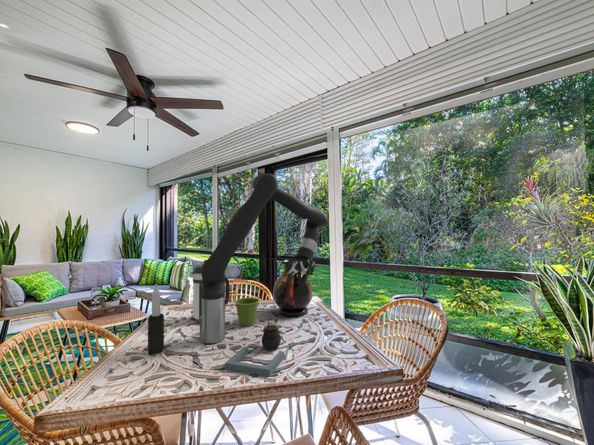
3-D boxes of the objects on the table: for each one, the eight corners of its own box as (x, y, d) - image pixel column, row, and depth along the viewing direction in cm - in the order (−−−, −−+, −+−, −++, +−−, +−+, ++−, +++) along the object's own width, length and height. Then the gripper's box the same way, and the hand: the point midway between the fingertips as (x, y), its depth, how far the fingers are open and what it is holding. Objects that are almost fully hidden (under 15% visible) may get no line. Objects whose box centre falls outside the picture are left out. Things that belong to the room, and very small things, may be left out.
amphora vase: (267, 310, 157) (267, 259, 158) (302, 305, 166) (301, 257, 167) (281, 321, 137) (281, 264, 138) (320, 315, 146) (319, 261, 147)
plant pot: (229, 327, 129) (229, 303, 129) (241, 319, 140) (240, 297, 141) (253, 329, 126) (253, 304, 126) (263, 321, 138) (263, 298, 138)
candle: (149, 349, 106) (149, 283, 107) (164, 347, 108) (164, 282, 109) (147, 355, 101) (147, 285, 102) (162, 353, 103) (163, 284, 104)
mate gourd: (268, 353, 102) (268, 326, 102) (257, 347, 108) (257, 321, 108) (284, 348, 106) (283, 321, 107) (273, 342, 112) (272, 317, 112)
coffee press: (214, 325, 132) (214, 261, 133) (184, 323, 135) (183, 261, 136) (230, 314, 149) (229, 258, 150) (202, 313, 152) (202, 257, 153)
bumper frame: (224, 369, 91) (224, 362, 91) (244, 352, 103) (244, 346, 103) (269, 376, 86) (269, 369, 86) (284, 357, 99) (284, 351, 99)
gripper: (290, 246, 131) (278, 278, 124) (313, 245, 121) (301, 280, 114) (300, 254, 135) (289, 285, 128) (323, 253, 125) (312, 287, 118)
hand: (295, 283), depth 121 cm, fingers open, 8 cm apart
